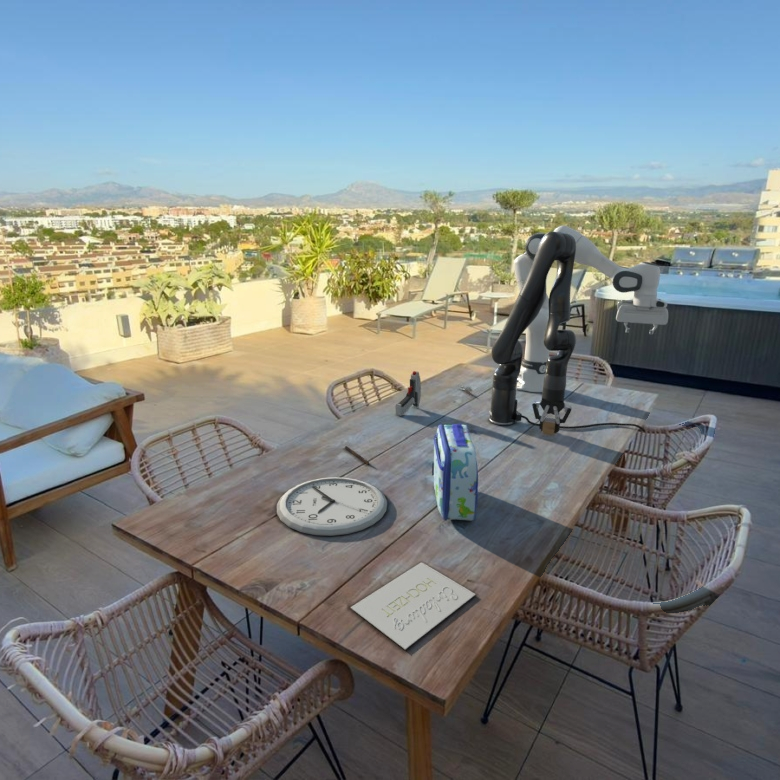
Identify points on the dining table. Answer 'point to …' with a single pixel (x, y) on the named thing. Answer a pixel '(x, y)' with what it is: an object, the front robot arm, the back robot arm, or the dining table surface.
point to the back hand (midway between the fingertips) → (639, 333)
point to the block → (549, 426)
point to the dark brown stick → (357, 455)
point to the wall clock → (331, 506)
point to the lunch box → (455, 472)
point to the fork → (464, 389)
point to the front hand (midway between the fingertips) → (548, 431)
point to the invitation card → (412, 604)
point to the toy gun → (410, 395)
